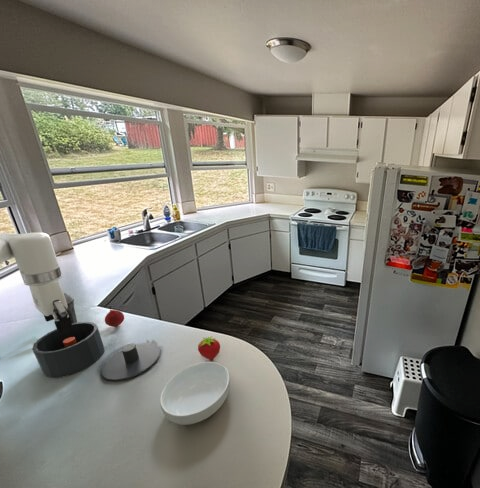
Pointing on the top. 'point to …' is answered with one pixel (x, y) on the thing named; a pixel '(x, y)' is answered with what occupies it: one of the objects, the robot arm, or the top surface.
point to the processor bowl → (69, 350)
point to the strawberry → (209, 348)
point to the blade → (69, 342)
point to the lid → (130, 361)
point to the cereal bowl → (195, 393)
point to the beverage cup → (70, 308)
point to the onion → (114, 318)
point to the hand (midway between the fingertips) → (59, 324)
